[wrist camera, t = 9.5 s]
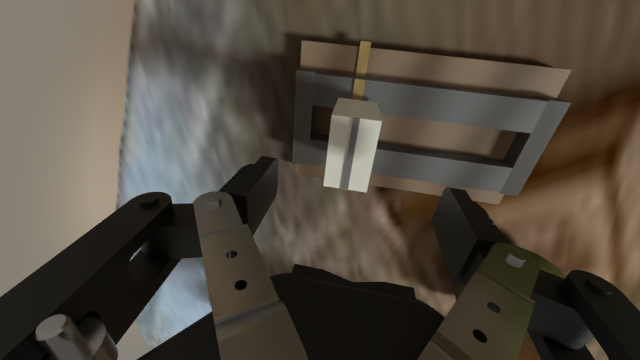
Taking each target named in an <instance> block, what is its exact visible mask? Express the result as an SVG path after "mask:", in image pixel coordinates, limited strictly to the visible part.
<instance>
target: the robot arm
mask: <svg viewBox="0 0 640 360" xmlns="http://www.w3.org/2000/svg"><path fill="white" fill-rule="evenodd" d="M277 188H278V159H277V158H271V157H265V156H261V157H260V158H259V160H258V161H257V162H256V163H255V164H248V165H246V166H244V167H242V168H241V169H240V170H239V171H238V172H237V173H236V174H235V175H234V176H233V177H232V179H230V180H229V181H228V182H227V183H226V184H225V185H224V186H223V187H222V188H221V189H220V190H219V191H216V192H208V193H205V194H202V195H200V196H199V197H197V198H196V199H195V201H194V203H191V204H172V200H171V197H170V195H168V194H166V193H163V192H150V193H145V194H141V195H139V196H136V197H134V198H133V199H131V200H130V201H128V202H127V203H126V204H124V205H123V206H122V207H120V208H119V209H118V210H116V211H115V212H114V213H112V214H111V215H110V216H108V217H107V218H106V219H104V220H103V221H102V222H101V223H99V224H98V225H96V226H95V227H94V228H93V229H91V230H90V231H88V232H87V233H86V234H84V235H83V236H82V237H80V238H79V239H78V240H76V241H75V242H74V243H72V244H71V245H70V246H68V247H67V248H66V249H64V250H63V251H62V252H60V253H59V254H58V255H56V256H55V257H54V258H52V259H51V260H50V261H48V262H47V263H46V264H44V265H43V266H41V267H40V268H39V269H38V270H36V271H35V272H33V273H32V274H31V275H29V276H28V277H27V278H25V279H24V280H23V281H22V282H20V283H19V284H17V285H16V286H15V287H13V288H12V289H11V290H10V291H8V292H7V293H5V294H4V295H3V296H2V297H0V360H117V358H118V349H117V347H116V344H117V343H118V342H119V340H120V339H121V338H122V336H123V335H124V334H125V332H126V331H127V330H128V328H129V327H130V326H131V324H132V323H133V322H134V321H135V319H136V318H137V317H138V315H139V314H140V313H141V311H142V310H143V309H144V307H145V306H146V305H147V303H148V302H149V301H150V299H151V298H152V297H153V295H154V294H155V293H156V291H157V290H158V289H159V287H160V286H161V285H162V284H163V282H164V281H165V280H166V278H167V277H168V276H169V274H170V273H171V272H172V270H173V269H174V268H175V266H176V265H177V264H178V262H179V261H180V260H181V258H195V257H203V262H204V268H205V273H206V279H207V285H208V290H209V296H210V301H211V307H212V312H210V313H209V314H207V315H206V316H204V317H203V318H201V319H200V320H198V321H196V322H195V323H193V324H192V325H190V326H189V327H187V328H185V329H184V330H182V331H181V332H179V333H178V334H176V335H174V336H173V337H171V338H170V339H168V340H167V341H165V342H164V343H162V344H160V345H159V346H157V347H156V348H154V349H153V350H151V351H149V352H148V353H146V354H145V355H143V356H142V357H140V358H139V359H137V360H517V359H518V356H519V352H520V349H521V346H522V343H523V340H524V336H525V333H526V330H527V331H528V334H529V336H530V338H531V340H532V342H533V344H534V346H535V348H536V350H537V352H538V354H539V356H540V358H541V360H595V359H594V358H593V356H592V355H591V353H590V352H589V350H588V349H587V347H586V346H585V344H586V343H588V342H589V341H590V340H591V339H592V338H593V337H595V338H596V340H597V341H598V343H599V344H600V346H601V347H602V348H603V350H604V351H605V353H606V354H607V356H608V358H609V360H640V311H639V310H638V309H637V308H636V307H635V306H634V305H633V304H632V303H631V302H630V300H629V299H628V298H627V297H626V296H625V295H624V294H623V293H622V292H621V291H620V290H619V289H617V288H616V287H615V286H614V285H612V284H611V283H609V282H608V281H606V280H604V279H602V278H601V277H599V276H596V275H594V274H592V273H589V272H586V271H582V270H573V271H571V272H570V273H569V274H568V275H567V276H566V278H565V279H564V278H561V277H559V276H556V275H553V274H551V273H548V272H546V271H543V270H540V266H539V264H538V262H537V261H536V260H535V258H534V257H532V256H531V255H530V254H529V253H527V252H526V251H524V250H523V249H521V248H519V247H517V246H514V245H511V244H508V243H507V241H506V240H505V238H504V237H503V236H502V234H501V233H500V231H499V230H498V228H497V227H496V225H494V222H493V221H492V220H491V219H490V217H489V215H488V214H487V212H486V211H485V210H484V209H483V208H482V207H481V206H479V205H478V204H477V203H476V202H473V201H472V199H471V198H470V196H469V195H468V193H467V192H466V190H463V189H457V188H451V187H446V188H445V189H444V191H443V193H442V196H441V198H440V201H439V203H438V206H437V208H436V210H435V213H434V216H433V228H434V230H435V233H436V236H437V239H438V242H439V245H440V247H441V250H442V253H443V256H444V259H445V262H446V264H447V267H448V270H449V273H450V276H451V279H452V281H453V283H454V284H459V285H464V286H466V287H465V288H464V290H463V291H462V293H461V295H460V296H459V298H458V299H457V301H456V302H455V304H454V305H453V307H452V308H451V310H450V311H449V313H448V314H447V316H446V317H445V318H444V317H443V316H442V315H441V314H440V313H439V312H437V311H436V310H435V309H433V308H432V307H430V306H429V305H427V304H426V303H424V302H422V301H420V300H418V299H416V298H415V293H414V288H412V287H407V286H402V285H397V284H392V283H387V282H351V281H348V280H346V279H344V278H341V277H339V276H337V275H334V274H332V273H330V272H327V271H325V270H322V269H317V268H312V267H308V266H303V265H298V264H294V267H293V271H292V273H283V274H278V275H274V276H271V277H270V276H269V274H268V272H267V269H266V267H265V264H264V262H263V260H262V257H261V255H260V253H259V250H258V248H257V245H256V243H255V241H254V238H253V235H254V233H255V231H256V230H257V228H258V226H259V224H260V223H261V221H262V219H263V218H264V216H265V214H266V212H267V211H268V209H269V207H270V205H271V204H272V202H273V200H274V199H275V196H276V193H277ZM140 247H141V251H140V252H139V253H138V254H137V255H136V256H135V257H134V258H133V259H132V260H131V261H130V259H131V257H132V255H133V254H134V253H135V252H136V251H137V250H138V249H139V248H140ZM129 261H130V262H129Z"/></svg>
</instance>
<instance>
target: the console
mask: <svg viewBox="0 0 640 360" xmlns="http://www.w3.org/2000/svg"><path fill="white" fill-rule="evenodd" d="M571 71H572V70H569V69H563V68H556V67H548V66H539V65H530V64H520V63H511V62H502V61H493V60H484V59H475V58H465V57H456V56H447V55H438V54H429V53H419V52H410V51H401V50H392V49H383V48H374V47H371V42H366V41H361V43H360V46H355V45H346V44H337V43H328V42H318V41H309V40H302V43H301V63H300V68H299V69H297V70H296V80H295V105H294V129H293V154H292V163H296V166H295V174H301V175H308V176H314V177H321V178H324V177H325V168H326V159H327V151H328V142H329V133H330V125H331V116H332V113H333V110H334V108H335V105H336V103H337V100H338V98H346V99H354V100H362V101H370V102H378V106H379V110H380V115H381V119H382V124H381V129H380V133H379V138H378V142H377V147H376V151H375V156H374V161H373V165H372V170H371V174H370V179H369V184H368V185H373V186H380V187H387V188H393V189H400V190H406V191H413V192H419V193H426V194H433V195H439V196H442V193H443V191H444V189H445V188H446V187H451V188H457V189H463V190H466V192H467V193H468V195H469V196H470V198H471V199H472V201H479V202H485V203H492V204H498V205H499V203H500V201H501V199H502V197H503V196H504V194H505V195H512V196H518V194H519V193H520V191H521V189H522V187H523V186H524V184H525V182H526V180H527V179H528V177H529V175H530V173H531V172H532V170H533V168H534V167H535V165H536V163H537V161H538V160H539V158H540V156H541V154H542V153H543V151H544V149H545V148H546V146H547V144H548V142H549V141H550V139H551V137H552V135H553V134H554V132H555V130H556V128H557V127H558V125H559V123H560V122H561V120H562V118H563V116H564V115H565V113H566V111H567V109H568V108H569V106H570V104H571V103H570V102H567V101H564V100H561V99H558V98H557V96H558V94H559V93H560V91H561V89H562V87H563V85H564V83H565V82H566V80H567V78H568V76H569V74H570V72H571Z"/></svg>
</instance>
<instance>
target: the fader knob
mask: <svg viewBox="0 0 640 360" xmlns="http://www.w3.org/2000/svg"><path fill="white" fill-rule="evenodd" d="M381 124H382V119H381V115H380V110H379V106H378V102H370V101H362V100H354V99H346V98H338V100H337V103H336V105H335V108H334V110H333V113H332V116H331V125H330V133H329V142H328V151H327V159H326V168H325V177H324V185H323V186H328V187H334V188H341V189H342V190H344V191H348V190H354V191H360V192H367V188H368V184H369V179H370V174H371V170H372V165H373V161H374V156H375V151H376V147H377V142H378V138H379V133H380V129H381Z"/></svg>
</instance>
